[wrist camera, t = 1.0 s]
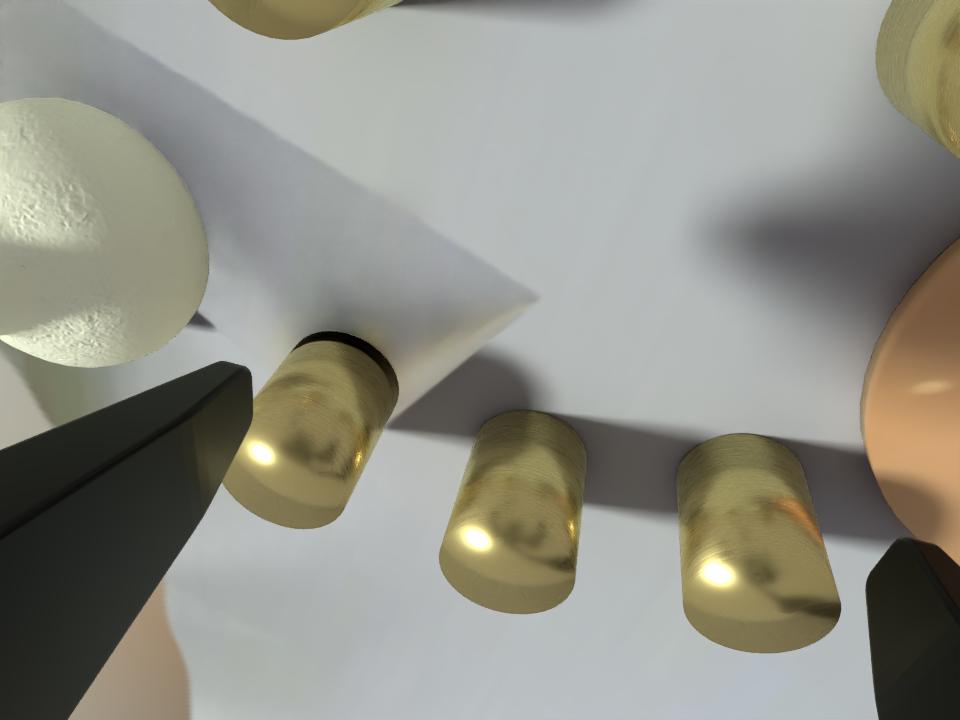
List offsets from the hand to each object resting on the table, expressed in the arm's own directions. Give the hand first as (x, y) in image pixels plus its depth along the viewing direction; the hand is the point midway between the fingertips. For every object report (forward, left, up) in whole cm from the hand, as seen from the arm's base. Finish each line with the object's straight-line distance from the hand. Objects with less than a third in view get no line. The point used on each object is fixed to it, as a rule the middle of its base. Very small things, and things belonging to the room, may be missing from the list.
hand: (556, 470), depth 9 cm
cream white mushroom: (+7, +10, -8) cm, 14 cm away
